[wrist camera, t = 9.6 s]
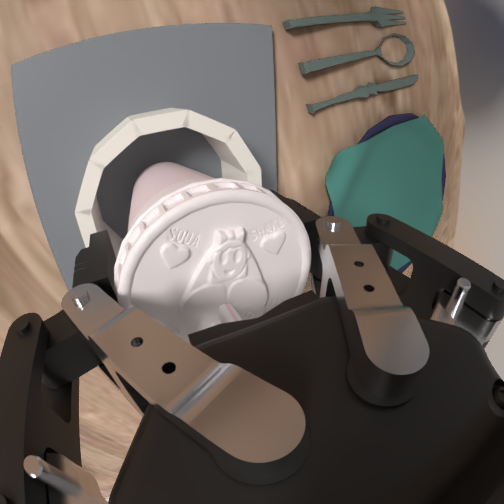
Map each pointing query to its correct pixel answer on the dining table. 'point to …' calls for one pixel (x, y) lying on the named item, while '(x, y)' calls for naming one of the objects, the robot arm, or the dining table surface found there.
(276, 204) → the smoothie
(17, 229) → the dining table surface
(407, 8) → the dining table surface
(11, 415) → the robot arm
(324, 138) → the dining table surface
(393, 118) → the cutlery set
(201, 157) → the sleeve stand
